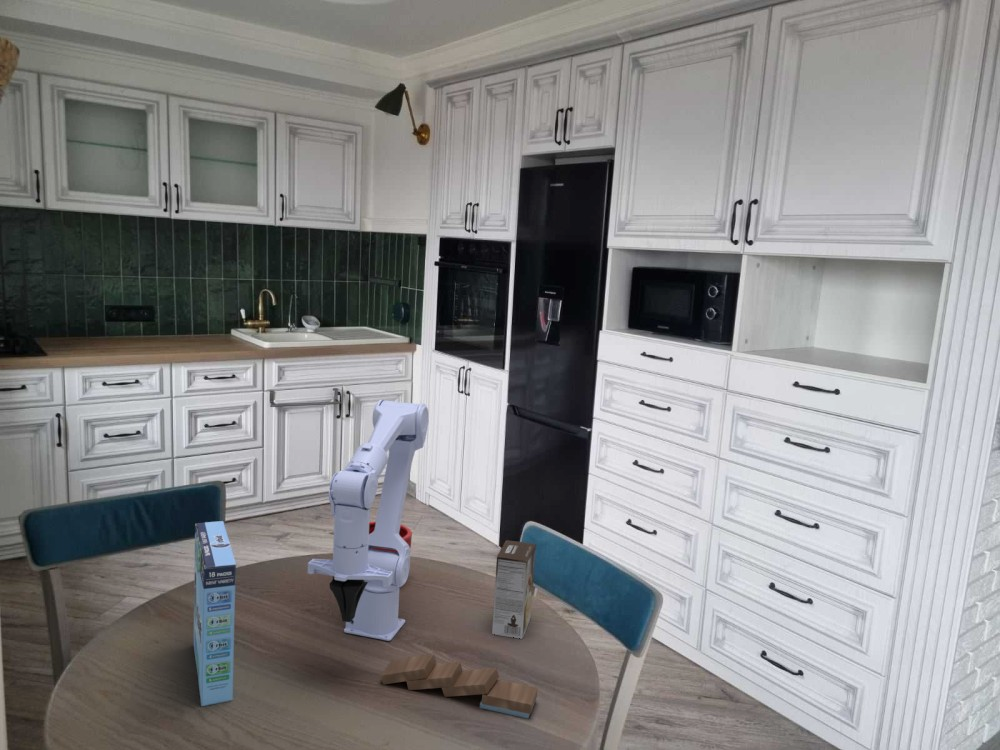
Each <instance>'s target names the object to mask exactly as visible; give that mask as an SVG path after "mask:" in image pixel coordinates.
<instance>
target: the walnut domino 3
mask: <svg viewBox="0 0 1000 750" xmlns="http://www.w3.org/2000/svg"><path fill="white" fill-rule="evenodd" d="M499 678H500V675H499V672H498V669H497V667H490V668H480V669H479V668H478V669H467V670H462V672H461V674H460V676H459V677H458V679H457V681H456V683H455V685H454V686H453V687H442V688H441V690H442V694H443V696H444V697H446V698H447V697H461V696H474V695H475V696H476V695H483V694H487V693H488V692H489V690H490V689H491V688H492V686H493V685H494V683H495V682H496V681H497V679H498V680H499Z"/></svg>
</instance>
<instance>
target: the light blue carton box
mask: <svg viewBox="0 0 1000 750" xmlns="http://www.w3.org/2000/svg"><path fill="white" fill-rule="evenodd" d="M193 566H194V567H193V569H194V573H193V574H194V579H193V583H194V584H193V585H194V586H193V587H194V588H193V589H194V591H193V592H194V593H193V649H194V650H193V651H194V656H195V657H194V658H195V664H196V665H195V666H196V672H197V678H198V689H199V696H200V706H201V707H203V708H204V707H207V706H213V705H218V704H223V703H228V702H232V701H233V700H234V697H233V695H234V689H233V688H234V654H235V653H234V651H235V649H234V647H235V646H234V645H235V609H236V608H235V607H236V606H235V604H236V603H235V602H236V601H235V600H236V574H237V573H236V570H237V569H236V568H237V563H236V558H235V556H234V551H233V548H232V545H231V542H230V539H229V535H228V532H227V529H226V525H225V522H224V521H223V520H220V521H205V522H198V523H195V524H194V565H193Z"/></svg>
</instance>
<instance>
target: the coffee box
mask: <svg viewBox="0 0 1000 750" xmlns="http://www.w3.org/2000/svg"><path fill="white" fill-rule="evenodd" d="M536 548H537V543H533V542H525V541H524V542H523V541H514V540H508V539H507V540H505V542H504V543H503V545H502V546H501V548H500V549H499V552H498V554H497V556H496V565H495V566H496V567H495V578H494V579H495V580H494V594H493V596H494V598H493V612H492V614H493V616H492V626H491V627H492V628H491V629H492V630H491V633H492V635H494V634H495V636H501V637H508V638H513V637H514V638H513V639H519V638H520V639H519V640H523V639H524V637H525V634H526V631H527V628H528V626H529V624H530V620H531V617H532V603H533V602H532V601H533V591H534V589H533V588H534V575H535V564H536V563H535V561H536V550H537V549H536Z"/></svg>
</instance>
